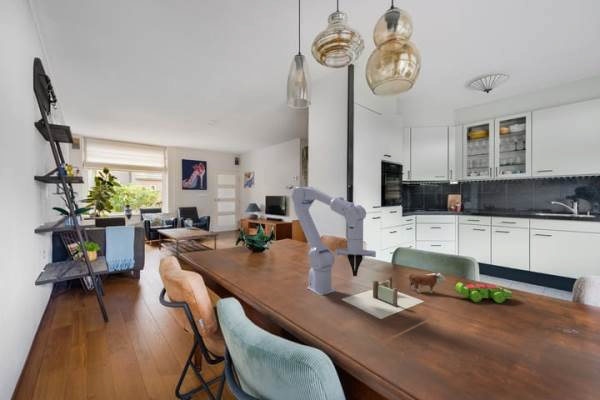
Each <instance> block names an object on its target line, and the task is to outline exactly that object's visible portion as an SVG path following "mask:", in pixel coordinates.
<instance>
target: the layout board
mask: <svg viewBox="0 0 600 400" xmlns="http://www.w3.org/2000/svg"><path fill="white" fill-rule="evenodd" d="M341 301H344V302H345V303H347V304H350V305H351V306H353V307H354V308H355V307H356V308H358V309H360V310H362V311H364V312H365V313H367V314H369V315H371V316H374V317H375V318H377V319H380V320H382V319H384V318H388V317H390V316H393V315H394V314H397V313H399V312H401V311H404V310H407V309H409V308H411V307H414V306H417V305H419V304H421V303H422V304H423V303H424V302H425V300H422V299H419V298H416V297H413V296H411V295H408V294H406V293H402V292H399V291H397V305H393V304H392V303H389V302H387V301H384V300H382V299H379V298H373V289H370V290H367V291H365V292H364V291H363V292H361V293H357V294H354V295H351V296H346V297H344V298H341Z"/></svg>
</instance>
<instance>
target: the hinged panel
mask: <svg viewBox="0 0 600 400" xmlns="http://www.w3.org/2000/svg"><path fill="white" fill-rule="evenodd" d="M397 292H399V291H398V288H397V287H392V289H389V288H387V287H384V286H381V285H378V298H379V299H382V300H384V301H387V302H389V303H392V304H393V305H397Z"/></svg>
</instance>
